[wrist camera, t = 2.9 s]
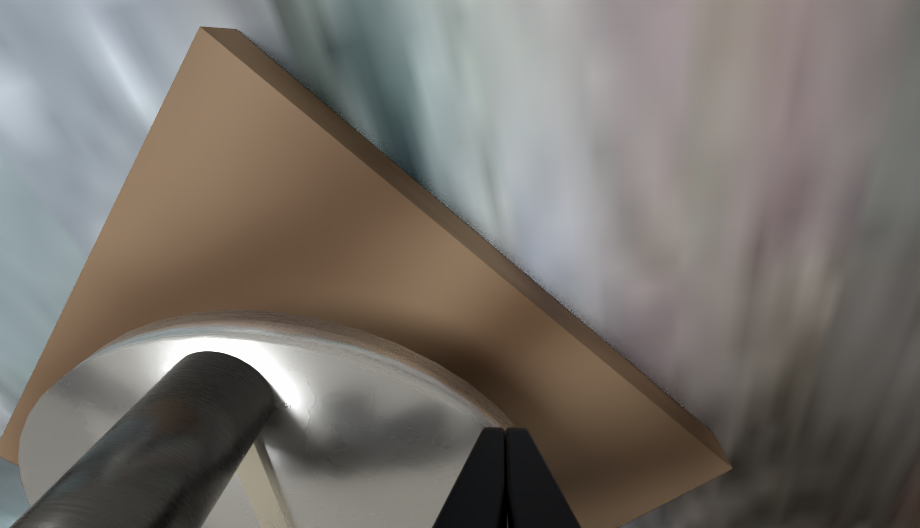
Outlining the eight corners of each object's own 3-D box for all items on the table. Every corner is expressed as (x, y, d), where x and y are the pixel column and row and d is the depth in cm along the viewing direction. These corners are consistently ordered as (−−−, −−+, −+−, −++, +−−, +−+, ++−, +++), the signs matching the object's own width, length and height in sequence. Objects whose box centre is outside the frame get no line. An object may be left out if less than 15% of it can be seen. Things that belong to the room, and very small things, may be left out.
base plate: (713, 433, 16) (734, 471, 14) (392, 612, 24) (385, 649, 22) (236, 29, 11) (197, 26, 9) (29, 424, 19) (-9, 455, 17)
